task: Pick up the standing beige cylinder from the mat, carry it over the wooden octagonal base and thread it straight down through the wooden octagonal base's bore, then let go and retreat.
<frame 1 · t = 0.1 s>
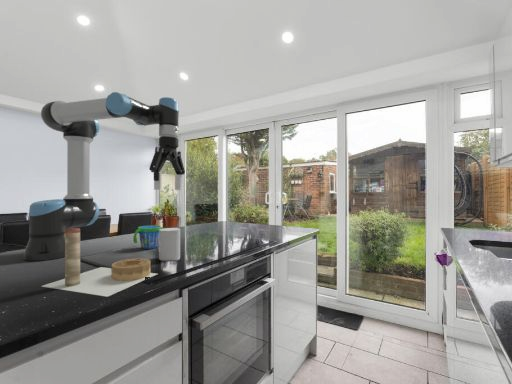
hand: (168, 189, 109), 28 cm above the counter, fingers open, 13 cm apart
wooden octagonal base: (131, 275, 86), resting on mat
mat: (103, 280, 82), on the counter
snack cup: (149, 248, 130), on the counter
grey rounded block: (169, 259, 109), on the counter
beige cylinder: (72, 284, 78), resting on mat
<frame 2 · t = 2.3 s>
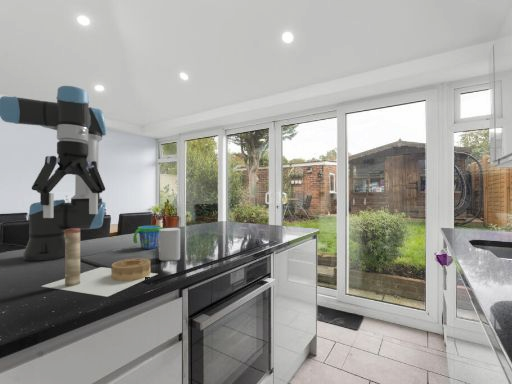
hand: (72, 215, 78), 20 cm above the counter, fingers open, 13 cm apart
nothing on the counter moved.
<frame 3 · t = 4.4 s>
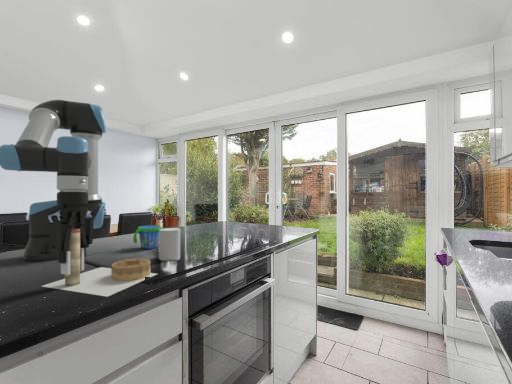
hand: (72, 271, 78), 4 cm above the counter, fingers closed on beige cylinder, 3 cm apart
beige cylinder: (72, 284, 78), resting on mat, touching gripper
everything else where it was.
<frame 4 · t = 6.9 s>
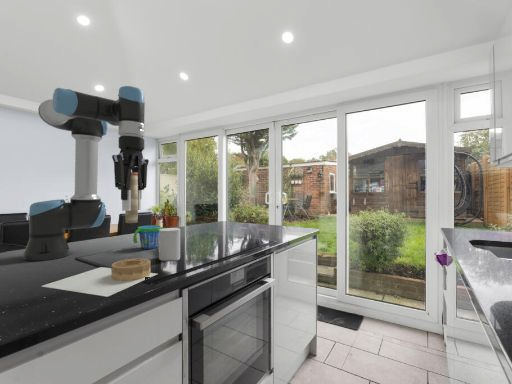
hand: (131, 210, 86), 21 cm above the counter, fingers closed on beige cylinder, 3 cm apart
beige cylinder: (131, 222, 86), point 17 cm above the counter, touching gripper
everything else where it was.
when the fingers open (5 cm above the counter, at t = 9.5 s): beige cylinder stays where it is, resting on mat.
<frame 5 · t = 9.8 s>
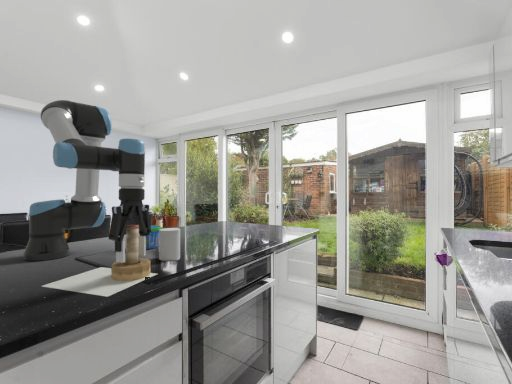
hand: (131, 258, 86), 6 cm above the counter, fingers open, 8 cm apart
beige cylinder: (131, 275, 86), resting on mat
everything else where it was.
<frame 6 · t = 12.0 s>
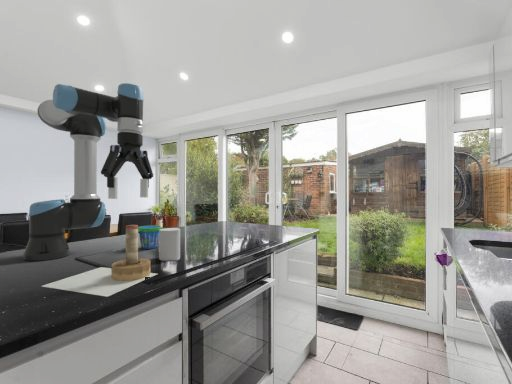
hand: (129, 198, 89), 25 cm above the counter, fingers open, 13 cm apart
nothing on the counter moved.
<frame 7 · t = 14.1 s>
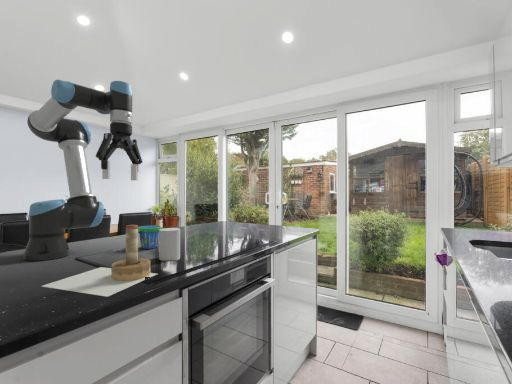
hand: (121, 179, 102), 32 cm above the counter, fingers open, 13 cm apart
nothing on the counter moved.
at the end: beige cylinder 0.1 cm off-centre on the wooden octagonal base, point 0.0 cm above the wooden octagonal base's base; beige cylinder tilted 0°; the gripper is holding nothing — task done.
